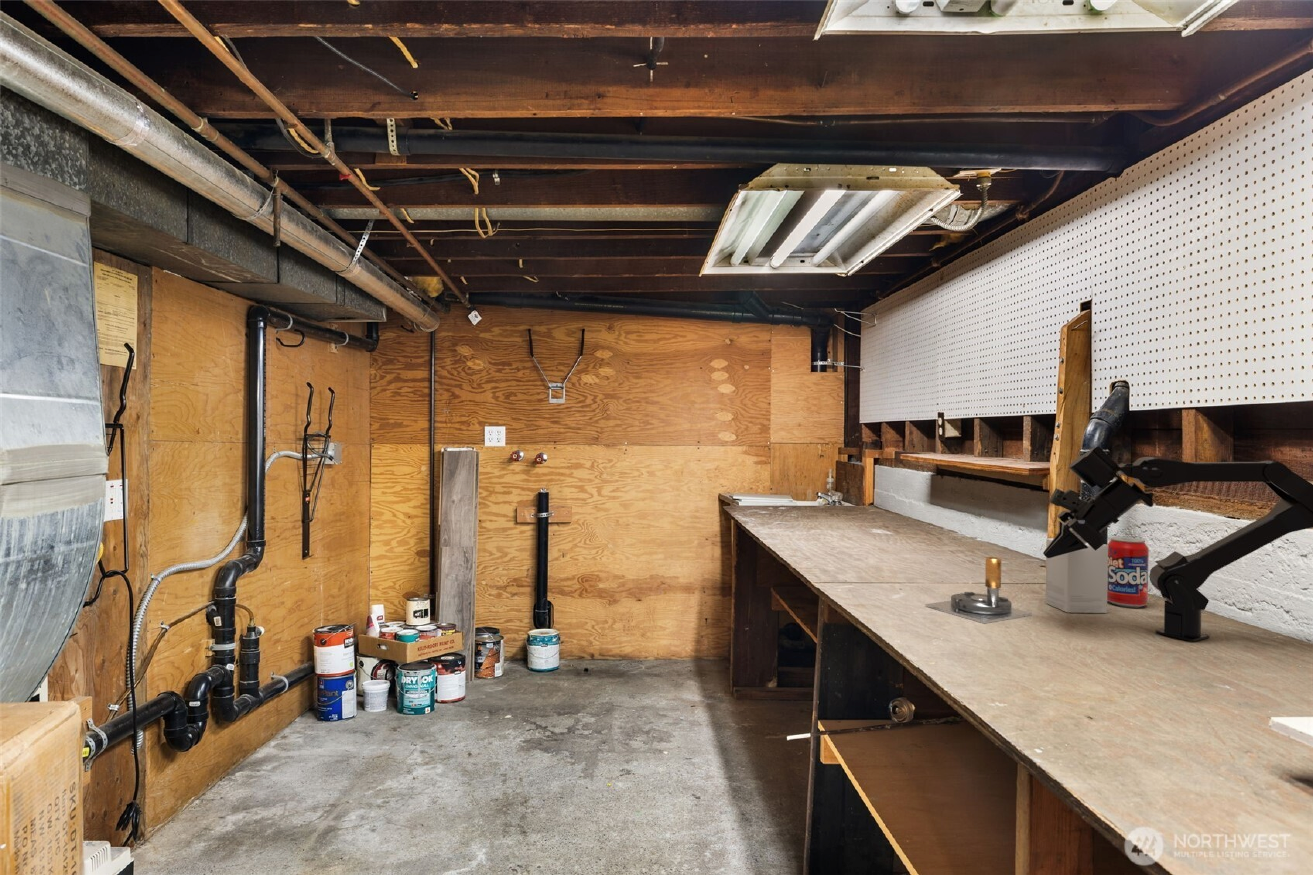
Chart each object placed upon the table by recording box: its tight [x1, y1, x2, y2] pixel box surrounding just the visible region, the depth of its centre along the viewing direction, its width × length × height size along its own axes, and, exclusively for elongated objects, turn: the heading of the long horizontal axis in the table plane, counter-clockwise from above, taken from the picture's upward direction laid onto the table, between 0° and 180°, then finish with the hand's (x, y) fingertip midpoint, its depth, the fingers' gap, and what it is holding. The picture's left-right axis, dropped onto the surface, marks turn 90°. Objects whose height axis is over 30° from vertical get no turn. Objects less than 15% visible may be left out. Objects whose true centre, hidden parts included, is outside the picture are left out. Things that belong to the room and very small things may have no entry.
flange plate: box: [924, 599, 1033, 624], centre depth 152 cm, size 15×15×3 cm
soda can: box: [1106, 536, 1150, 609], centre depth 159 cm, size 8×8×15 cm
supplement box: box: [1045, 537, 1108, 614], centre depth 155 cm, size 9×9×15 cm
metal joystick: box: [950, 556, 1013, 614], centre depth 152 cm, size 12×12×12 cm
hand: (1045, 555), depth 144 cm, fingers closed
